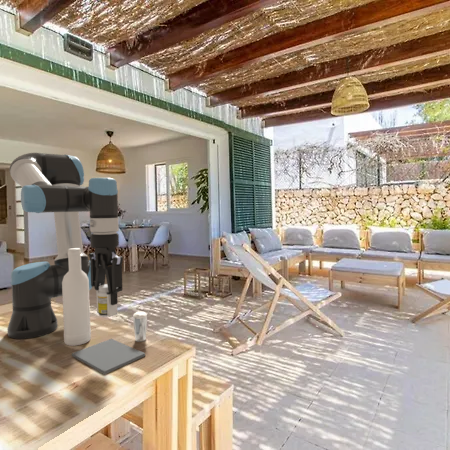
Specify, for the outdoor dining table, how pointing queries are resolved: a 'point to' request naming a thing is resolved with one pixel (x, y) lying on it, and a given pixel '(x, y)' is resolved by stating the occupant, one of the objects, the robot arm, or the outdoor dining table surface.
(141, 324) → the milkshake
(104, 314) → the supplement bottle
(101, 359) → the slate mat
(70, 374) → the outdoor dining table surface
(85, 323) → the bottle
